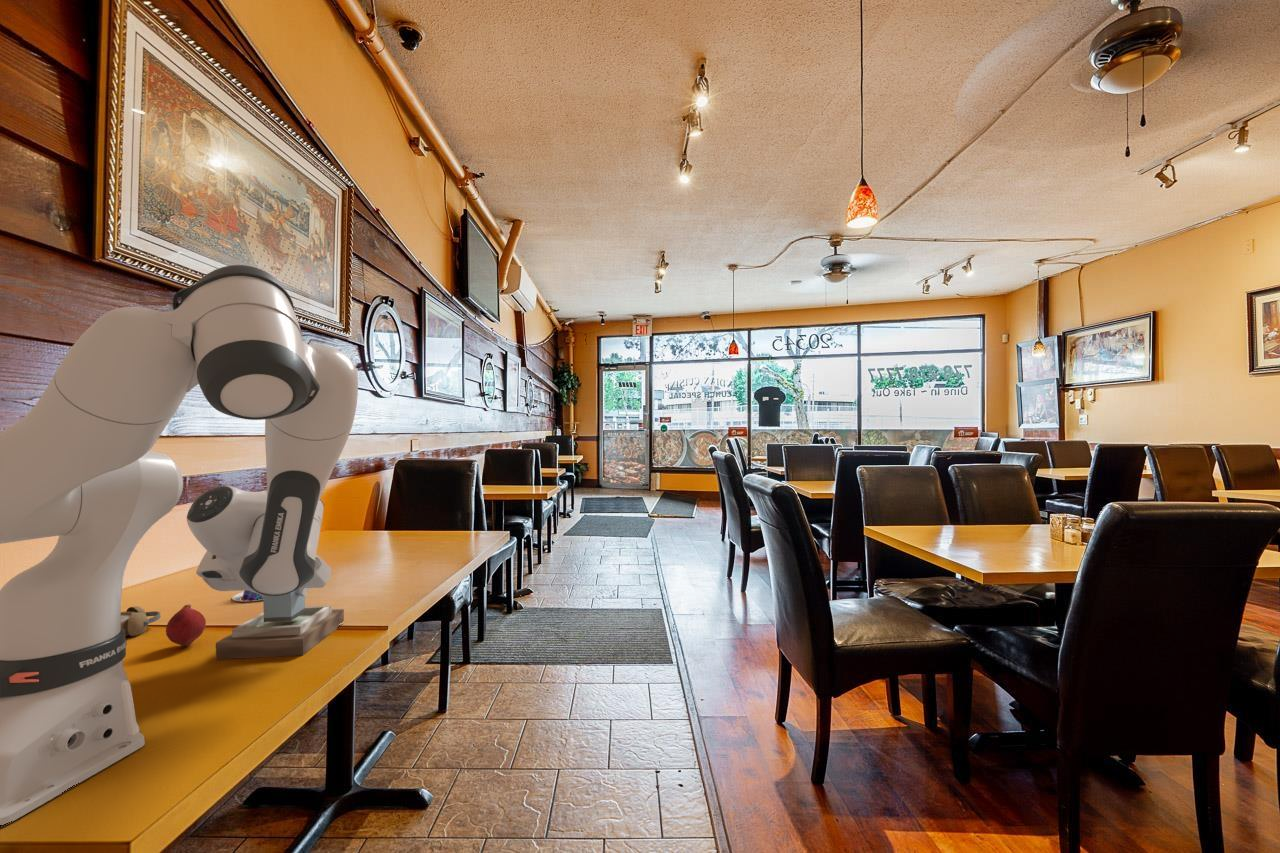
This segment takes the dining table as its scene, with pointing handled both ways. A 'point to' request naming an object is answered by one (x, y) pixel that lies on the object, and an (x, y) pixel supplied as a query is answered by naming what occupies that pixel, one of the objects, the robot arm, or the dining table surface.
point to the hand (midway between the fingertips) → (286, 593)
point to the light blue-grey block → (283, 607)
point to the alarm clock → (137, 620)
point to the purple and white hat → (247, 596)
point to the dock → (280, 634)
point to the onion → (185, 626)
